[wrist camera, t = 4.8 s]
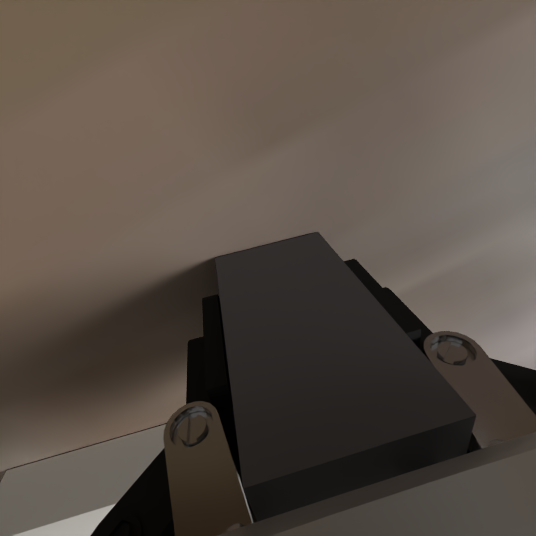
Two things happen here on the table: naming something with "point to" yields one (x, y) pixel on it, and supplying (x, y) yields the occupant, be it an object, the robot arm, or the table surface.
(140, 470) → the outlet
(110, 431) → the table surface
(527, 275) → the table surface
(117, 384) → the table surface
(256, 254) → the dark grey rectangular block
